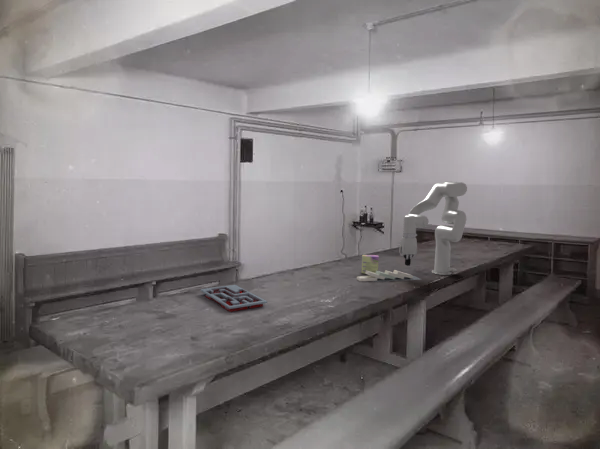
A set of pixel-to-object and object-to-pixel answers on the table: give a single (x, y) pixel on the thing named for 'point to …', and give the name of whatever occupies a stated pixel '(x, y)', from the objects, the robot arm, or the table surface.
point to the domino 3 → (385, 275)
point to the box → (370, 263)
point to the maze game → (233, 297)
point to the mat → (397, 279)
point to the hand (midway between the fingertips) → (407, 265)
